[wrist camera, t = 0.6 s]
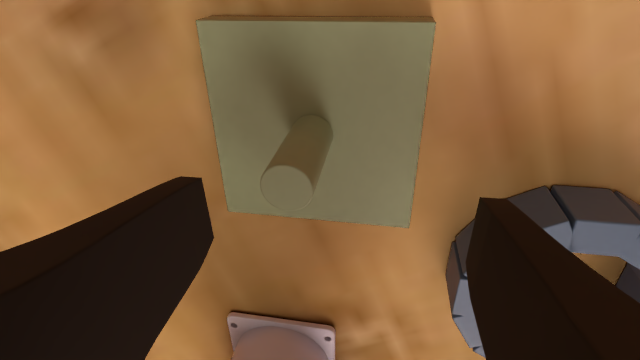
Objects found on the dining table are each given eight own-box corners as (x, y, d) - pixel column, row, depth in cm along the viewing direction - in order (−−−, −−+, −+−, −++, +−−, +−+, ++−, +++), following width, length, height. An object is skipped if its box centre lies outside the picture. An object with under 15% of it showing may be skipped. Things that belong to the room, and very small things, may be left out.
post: (408, 212, 21) (412, 303, 15) (237, 197, 22) (184, 274, 17) (433, 16, 16) (452, 47, 10) (209, 15, 17) (122, 41, 12)
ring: (618, 344, 23) (646, 392, 20) (435, 320, 25) (440, 362, 22) (708, 195, 17) (761, 235, 15) (465, 178, 19) (475, 211, 17)
